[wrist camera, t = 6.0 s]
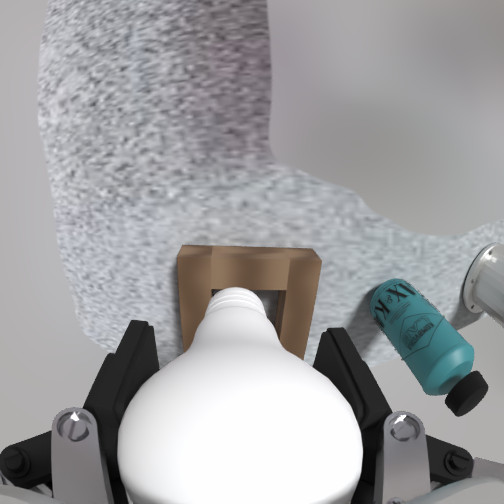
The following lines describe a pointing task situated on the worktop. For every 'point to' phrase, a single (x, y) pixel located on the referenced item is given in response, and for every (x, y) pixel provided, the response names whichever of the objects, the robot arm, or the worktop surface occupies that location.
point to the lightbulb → (239, 421)
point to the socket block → (251, 285)
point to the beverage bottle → (428, 345)
